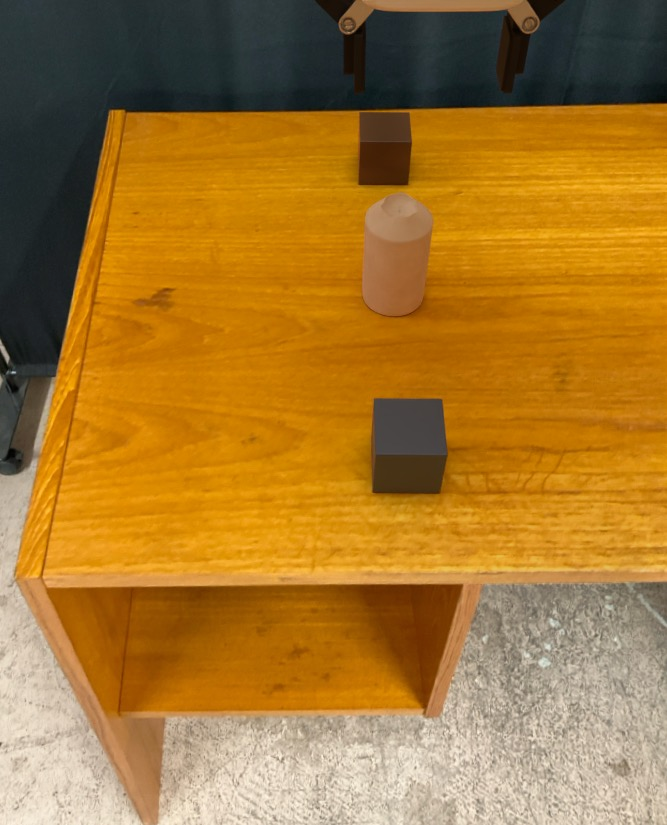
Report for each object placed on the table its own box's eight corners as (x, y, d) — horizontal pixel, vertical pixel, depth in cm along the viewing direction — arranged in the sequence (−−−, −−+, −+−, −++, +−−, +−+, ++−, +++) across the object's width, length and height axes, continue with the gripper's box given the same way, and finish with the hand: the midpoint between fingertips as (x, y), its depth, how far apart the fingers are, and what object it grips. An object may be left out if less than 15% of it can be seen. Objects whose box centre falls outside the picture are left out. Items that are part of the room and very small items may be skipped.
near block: (435, 438, 63) (442, 398, 59) (440, 493, 60) (447, 455, 56) (370, 437, 63) (373, 397, 59) (372, 493, 60) (375, 454, 56)
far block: (405, 155, 86) (409, 112, 82) (408, 185, 83) (412, 141, 79) (358, 154, 86) (359, 111, 82) (358, 184, 83) (359, 141, 79)
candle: (429, 313, 72) (442, 223, 64) (368, 320, 71) (373, 230, 63) (415, 270, 75) (426, 179, 67) (356, 277, 74) (360, 186, 66)
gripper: (284, -211, 39) (299, 114, 52) (649, -214, 39) (570, 114, 52) (291, -255, 44) (303, 54, 57) (617, -258, 43) (552, 53, 57)
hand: (431, 82), depth 55 cm, fingers open, 9 cm apart
